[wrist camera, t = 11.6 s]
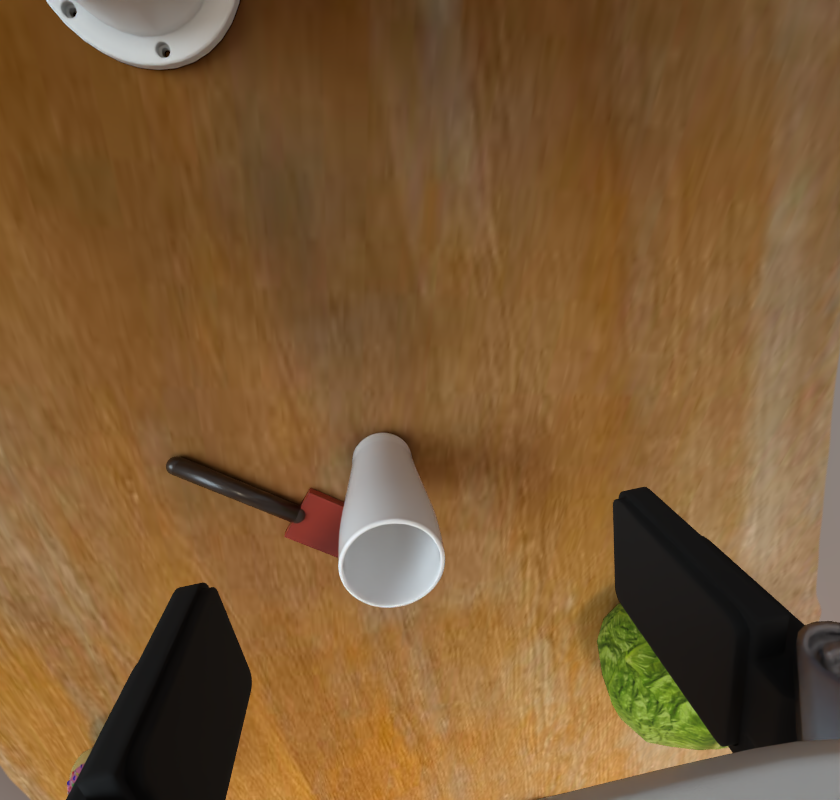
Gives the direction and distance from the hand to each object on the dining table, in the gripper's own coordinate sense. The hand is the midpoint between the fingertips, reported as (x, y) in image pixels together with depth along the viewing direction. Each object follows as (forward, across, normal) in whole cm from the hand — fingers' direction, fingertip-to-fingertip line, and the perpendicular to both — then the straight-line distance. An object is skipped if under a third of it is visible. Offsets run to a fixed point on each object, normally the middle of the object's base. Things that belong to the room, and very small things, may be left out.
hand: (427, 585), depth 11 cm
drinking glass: (+30, +2, +12) cm, 33 cm away
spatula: (+30, +11, +14) cm, 35 cm away
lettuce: (+30, -23, +43) cm, 57 cm away
